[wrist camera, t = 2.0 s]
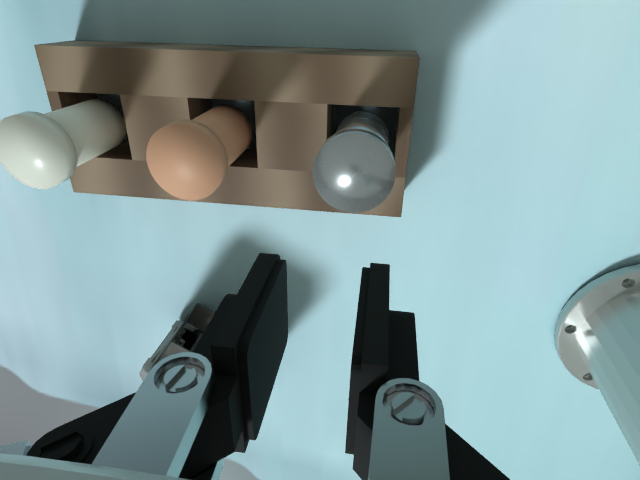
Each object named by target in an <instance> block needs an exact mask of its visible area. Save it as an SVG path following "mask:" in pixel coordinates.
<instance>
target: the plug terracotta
mask: <svg viewBox="0 0 640 480" xmlns="http://www.w3.org/2000/svg"><path fill="white" fill-rule="evenodd" d="M251 139H252V128H251V124H250V122H249V120H248V118H247V117H246V116H245V114H244V113H243V112H242V111H240V110H239V109H237V108H236V107H233V106H230V105H219V106H216V107H214V108H212V109H210V110H208V111H207V112H205V113H203V114H201V115H200V116H198V117H196V118H194V119H193V120H177V121H174V122H172V123H170V124H168V125H166V126H164V127H162V128H160V129H159V130H157V131H156V132H155V133H154V134H153V135H152V137H151V138H150V140H149V142H148V145H147V151H146V159H147V164H148V168H149V170H150V173H151V175H152V176H153V178H154V180H155V181H156V182H157V183H158V185H159V186H160V187H161V188H162V189H164V190H165V191H166V192H168V193H169V194H171V195H173V196H175V197H177V198H180V199H183V200H200V199H203V198H206V197H208V196H209V195H211V194H212V193H213V192H214V191H215V190H216V189H217V188H218V187H219V186H220V185H221V184H222V182H223V181H224V179H225V177H226V175H227V172H228V167H229V166H230V165H231V164H232V163H233V162H234V161H235V160H236V159H237V158H238V157H239V156H240V155H241V154H242V153H243V152H244V151H245V150H246V149H247V148H248V146H249V145H250V143H251Z"/></svg>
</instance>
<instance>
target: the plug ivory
mask: <svg viewBox="0 0 640 480" xmlns="http://www.w3.org/2000/svg"><path fill="white" fill-rule="evenodd" d="M125 135H126V124H125V121H124V118H123V116H122V115H121V113H120V112H119V110H118V109H117V108H116V107H115V106H114V105H112V104H111V103H109V102H108V101H105V100H102V99H91V100H87V101H84V102H81V103H78V104H75V105H71V106H68V107H65V108H62V109H59V110H55V111H52V112H49V113H46V114H42V113H38V112H32V111H27V112H22V113H19V114H15V115H12V116H9V117H6V118H4V119H3V120H1V121H0V161H1V163H2V164H3V166H4V167H5V168H6V170H7V171H8V172H9V173H10V174H11V175H12V176H13V177H15V178H16V179H17V180H18V181H20V182H22V183H23V184H25V185H27V186H30V187H33V188H37V189H49V188H53V187H55V186H57V185H58V184H60V183H62V182H64V181H66V180H68V179H69V178H70V177H71V176H72V175H73V174H74V172H75V170H76V167H77V166H79V165H81V164H83V163H85V162H87V161H89V160H91V159H93V158H95V157H97V156H99V155H101V154H103V153H105V152H107V151H109V150H110V149H112V148H114V147H116V146H118V145H120V144H121V143H122V142H123V140H124V138H125Z"/></svg>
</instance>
